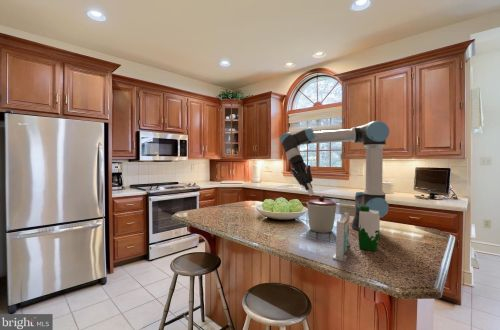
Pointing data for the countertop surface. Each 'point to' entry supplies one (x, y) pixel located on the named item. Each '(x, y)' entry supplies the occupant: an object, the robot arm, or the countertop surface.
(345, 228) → the gate
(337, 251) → the gate frame
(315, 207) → the canister
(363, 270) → the countertop surface
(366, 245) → the milk carton
